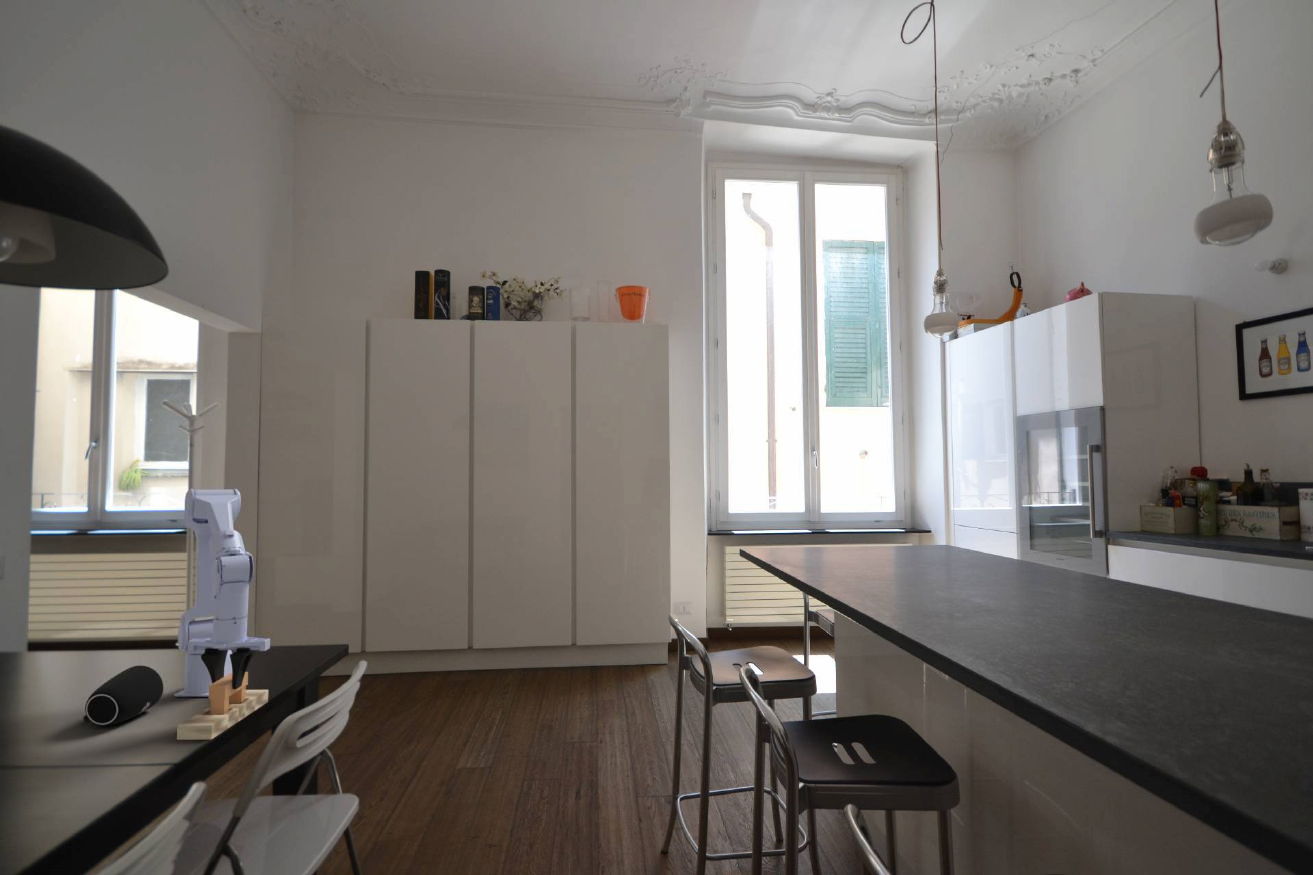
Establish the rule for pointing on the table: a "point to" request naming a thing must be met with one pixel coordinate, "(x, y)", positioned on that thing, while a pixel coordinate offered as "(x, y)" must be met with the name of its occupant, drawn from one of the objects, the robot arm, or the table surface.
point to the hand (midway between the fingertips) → (227, 687)
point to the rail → (220, 717)
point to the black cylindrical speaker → (124, 696)
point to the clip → (226, 694)
